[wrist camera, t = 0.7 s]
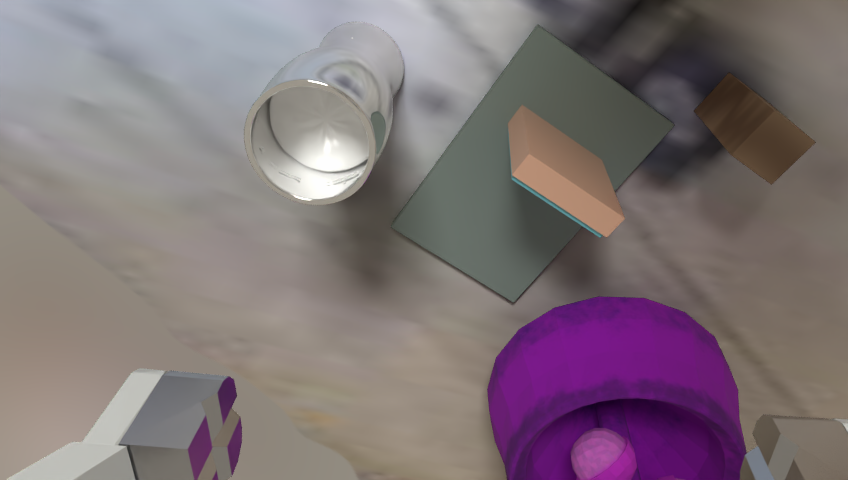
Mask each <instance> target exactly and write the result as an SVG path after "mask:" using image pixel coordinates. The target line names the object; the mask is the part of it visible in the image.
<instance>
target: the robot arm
mask: <svg viewBox="0 0 848 480" xmlns="http://www.w3.org/2000/svg"><path fill="white" fill-rule="evenodd" d="M236 397H237V393H236V388H235V383H234V380H233V379H232V378H231V377H229V376H219V375H210V374H199V373H189V372H178V371H161V370H151V369H141V368H139V369H137V370H136V371H134V372H132V373H131V374H130V375H129V377H128V378H127V379H126V381H125V382H124V383H123V385H122V386H121V388H120V389H119V390H118V392H117V394H116V395H115V396H114V397H113V399H112V400H111V402H110V403H109V405H108V406H107V407H106V409H105V410H104V412H103V413H102V414H101V416H100V417H99V418H98V420H97V421H96V423H95V424H94V426H93V427H92V429H91V430H90V431H89V433H88V434H87V435H86V437H85V438H84V440H83V441H82V442H71V443H69V444H67V445H66V446H64V447H62V448H61V449H59V450H57V451H55V452H53V453H52V454H50V455H48V456H46V457H45V458H43V459H41V460H39V461H38V462H36V463H34V464H32V465H30V466H29V467H27V468H25V469H23V470H22V471H20V472H18V473H16V474H15V475H13V476H11V477H9V478H8V479H6V480H228V479H229V478H230V477H232V475H233V472H234V470H235V467H236V464H237V462H238V458H239V453H240V448H241V443H242V426H241V419H240V416H239V415H238V414H237V413H236V412H235V411H234V410H233V409H232V405H233V403H234V401H235V399H236ZM753 436H754V438H755V440H756V442H757V445H758V446H757V447H756V448H754V449H753V450H751V451H750V452H748V453H747V454H746V455H745V456H744V460H743V463H742V466H741V470H740V480H848V419H825V418H810V417H794V416H779V415H762V416H761V418H760V419H759V420H758V421H757V423H756V425H755V428H754V431H753Z"/></svg>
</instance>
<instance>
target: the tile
mask: <svg viewBox="0 0 848 480" xmlns="http://www.w3.org/2000/svg"><path fill="white" fill-rule="evenodd" d="M508 140H509V153H510V166H511V179H512V180H513V181H515V182H516V183H518V184H519V185H521V186H522V187H524V188H525V189H527V190H528V191H530V192H531V193H533V194H534V195H536V196H537V197H539V198H540V199H542V200H544V201H545V202H547V203H548V204H550V205H551V206H553V207H554V208H556V209H557V210H559V211H560V212H562V213H563V214H565V215H566V216H568V217H569V218H571V219H572V220H574V221H575V222H577V223H578V224H580V225H581V226H583V227H584V228H586V229H587V230H589V231H590V232H592V233H593V234H595V235H597V236H598V237H600V238H601V237H602V236H605V237H606V238H607V237H608V236H609V235H610V234H611V233H612V232H613V231H614V230H615V228H616V227H617V226H618V225H619V224H620V223H621V222H622V221H623V220H624V219H625V217H624V214H623V212H622V209H621V207H620V204H619V202H618V199H617V197H616V194H615V192H614V189H613V186H612V184H611V181H610V179H609V176H608V174H607V171H606V169H605V166H604V164H603V161H602V160H601V159H600V158H599V157H597V156H596V155H594V154H593V153H591V152H590V151H588V150H587V149H586V148H584V147H583V146H581V145H580V144H578V143H577V142H575V141H574V140H573V139H571V138H570V137H568V136H567V135H565V134H564V133H562V132H561V131H559V130H558V129H557V128H555V127H554V126H552V125H551V124H549V123H548V122H546V121H545V120H544V119H542V118H541V117H539V116H538V115H536V114H535V113H533V112H532V111H531V110H529V109H528V108H526V107H525V106H523V105H521V107H520V108H519V109H518V111H517V112H516V113H515V114H514V116H513V117H512V118H511V120H510V121H509V122H508Z"/></svg>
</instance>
